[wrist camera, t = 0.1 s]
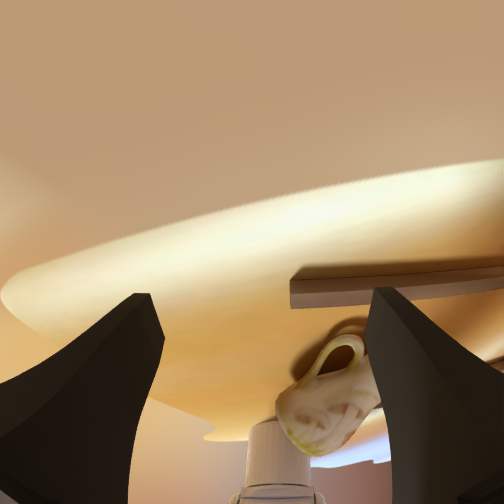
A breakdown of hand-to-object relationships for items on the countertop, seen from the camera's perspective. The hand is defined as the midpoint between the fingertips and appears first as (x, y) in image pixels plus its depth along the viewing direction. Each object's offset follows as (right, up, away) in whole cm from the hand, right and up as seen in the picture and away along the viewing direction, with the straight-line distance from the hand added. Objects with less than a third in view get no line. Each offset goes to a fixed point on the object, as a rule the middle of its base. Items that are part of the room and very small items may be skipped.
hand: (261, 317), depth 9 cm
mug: (+8, -6, +14) cm, 17 cm away
